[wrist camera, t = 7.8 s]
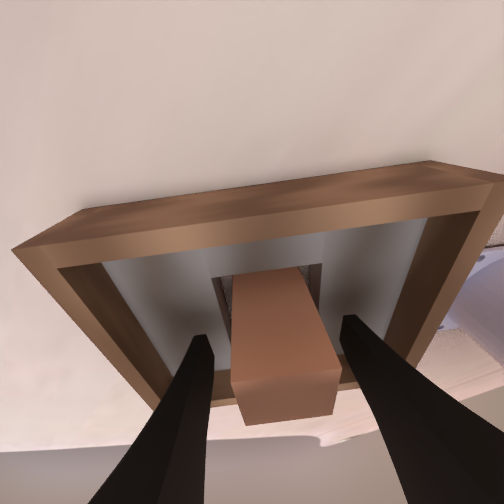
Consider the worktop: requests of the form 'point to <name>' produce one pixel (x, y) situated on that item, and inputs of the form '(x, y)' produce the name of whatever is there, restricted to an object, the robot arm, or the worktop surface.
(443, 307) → the box
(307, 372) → the terracotta peg
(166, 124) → the worktop surface
